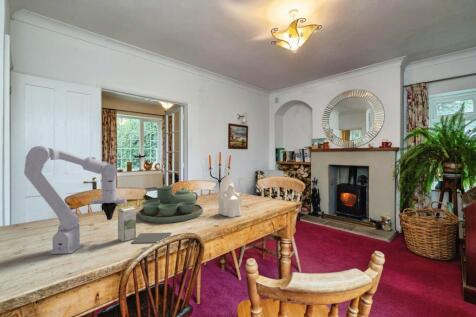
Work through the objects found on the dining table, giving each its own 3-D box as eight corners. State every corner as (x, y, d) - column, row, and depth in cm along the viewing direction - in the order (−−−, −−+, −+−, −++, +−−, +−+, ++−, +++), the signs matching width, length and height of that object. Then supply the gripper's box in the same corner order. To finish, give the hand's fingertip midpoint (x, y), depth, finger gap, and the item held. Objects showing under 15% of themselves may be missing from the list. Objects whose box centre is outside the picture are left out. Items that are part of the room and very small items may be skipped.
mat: (165, 242, 103) (165, 241, 103) (131, 243, 102) (131, 242, 102) (171, 233, 115) (171, 232, 115) (140, 234, 114) (140, 233, 114)
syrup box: (130, 235, 112) (129, 205, 112) (136, 238, 108) (135, 207, 108) (118, 239, 108) (117, 208, 107) (123, 242, 104) (123, 210, 103)
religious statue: (227, 219, 140) (228, 169, 139) (216, 213, 152) (217, 168, 150) (250, 214, 150) (251, 168, 149) (238, 209, 161) (239, 167, 160)
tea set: (124, 219, 140) (123, 192, 139) (167, 205, 177) (167, 183, 176) (178, 227, 125) (177, 197, 124) (213, 210, 162) (213, 186, 161)
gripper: (128, 188, 111) (129, 216, 112) (97, 188, 110) (97, 217, 110) (122, 190, 104) (123, 220, 105) (88, 191, 103) (89, 221, 103)
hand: (109, 219), depth 107 cm, fingers closed
